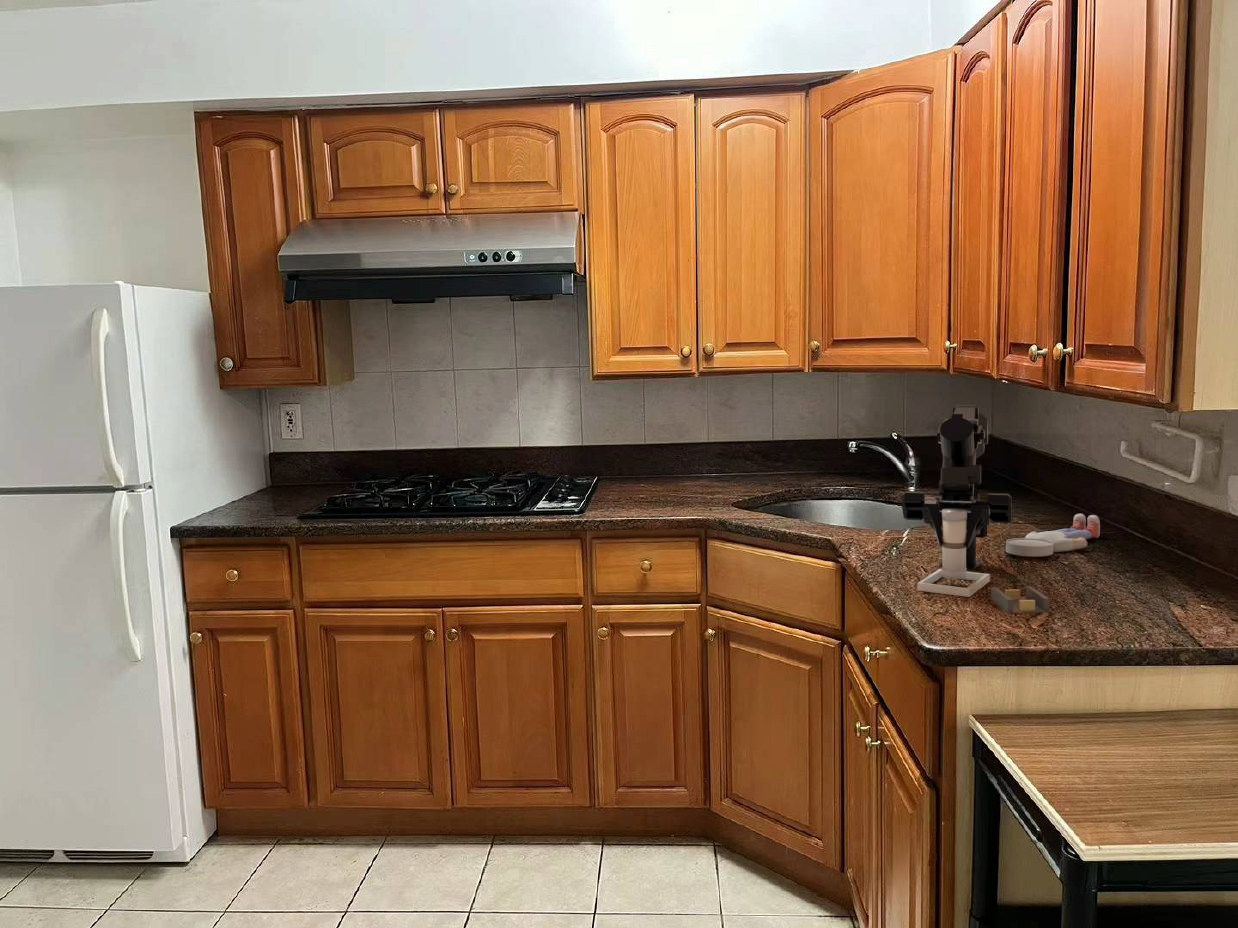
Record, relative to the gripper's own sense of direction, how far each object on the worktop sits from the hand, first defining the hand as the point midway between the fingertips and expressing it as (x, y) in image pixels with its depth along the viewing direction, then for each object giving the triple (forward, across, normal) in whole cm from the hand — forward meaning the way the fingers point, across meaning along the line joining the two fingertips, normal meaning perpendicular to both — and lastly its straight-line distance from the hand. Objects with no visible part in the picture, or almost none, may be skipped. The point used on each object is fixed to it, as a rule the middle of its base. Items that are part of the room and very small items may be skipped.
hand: (953, 546), depth 171 cm
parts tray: (+5, 0, +7) cm, 9 cm away
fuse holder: (+12, +11, 0) cm, 16 cm away
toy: (-24, +18, +37) cm, 48 cm away
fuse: (+3, 0, +5) cm, 6 cm away
